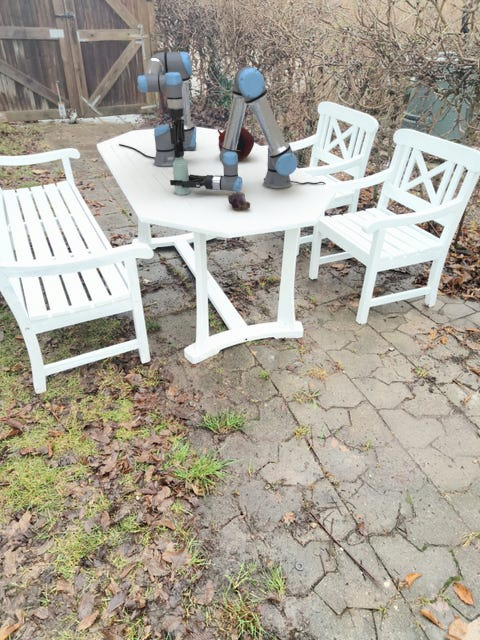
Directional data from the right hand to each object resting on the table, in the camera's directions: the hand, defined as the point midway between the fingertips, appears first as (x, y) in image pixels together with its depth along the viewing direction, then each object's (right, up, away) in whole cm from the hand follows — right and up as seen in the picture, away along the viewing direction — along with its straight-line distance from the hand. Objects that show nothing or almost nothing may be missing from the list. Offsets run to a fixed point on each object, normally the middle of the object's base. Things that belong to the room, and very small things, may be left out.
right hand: (173, 180), depth 244 cm
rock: (+35, -20, -18) cm, 45 cm away
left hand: (+5, +10, -8) cm, 14 cm away
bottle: (+5, -6, +3) cm, 8 cm away
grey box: (-4, +49, +83) cm, 96 cm away
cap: (+5, +12, -9) cm, 15 cm away
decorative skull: (+34, +32, +58) cm, 75 cm away
